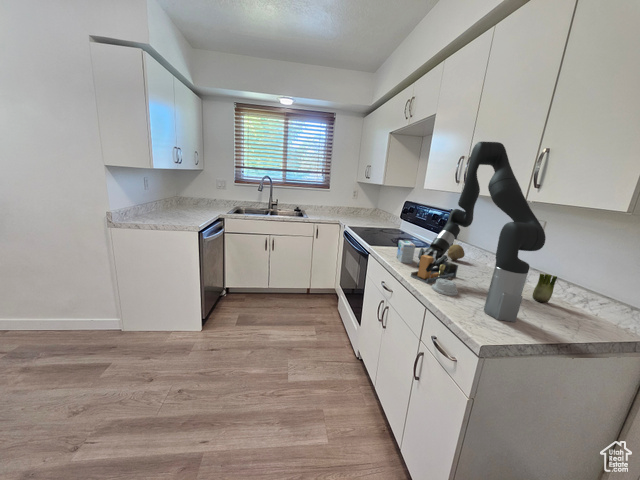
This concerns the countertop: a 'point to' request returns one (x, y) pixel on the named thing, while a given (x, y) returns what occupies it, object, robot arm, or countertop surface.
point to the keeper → (448, 268)
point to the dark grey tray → (433, 279)
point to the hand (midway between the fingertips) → (422, 269)
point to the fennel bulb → (544, 288)
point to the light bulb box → (405, 251)
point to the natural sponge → (455, 252)
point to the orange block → (423, 265)
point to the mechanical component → (445, 287)
